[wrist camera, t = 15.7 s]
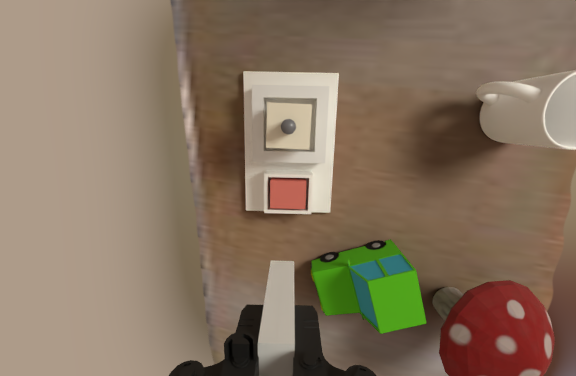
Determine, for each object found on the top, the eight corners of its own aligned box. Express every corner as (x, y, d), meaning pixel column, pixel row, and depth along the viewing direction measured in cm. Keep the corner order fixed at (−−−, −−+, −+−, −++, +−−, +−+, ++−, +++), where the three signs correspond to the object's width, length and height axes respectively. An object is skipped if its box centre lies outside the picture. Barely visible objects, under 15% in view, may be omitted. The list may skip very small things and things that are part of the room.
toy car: (306, 251, 44) (310, 288, 34) (386, 230, 42) (414, 262, 33) (322, 302, 46) (330, 351, 36) (398, 284, 45) (427, 329, 35)
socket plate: (244, 72, 37) (239, 67, 34) (337, 74, 37) (342, 69, 34) (246, 208, 42) (242, 216, 39) (329, 211, 42) (332, 218, 38)
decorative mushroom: (423, 240, 43) (490, 302, 28) (516, 261, 43) (630, 332, 29) (391, 322, 46) (436, 413, 32) (477, 340, 47) (560, 438, 32)
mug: (442, 118, 38) (496, 117, 28) (474, 60, 36) (544, 37, 26) (514, 151, 39) (590, 161, 29) (549, 96, 37) (643, 87, 27)
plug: (272, 106, 37) (265, 100, 27) (308, 107, 37) (313, 103, 27) (271, 142, 38) (264, 149, 29) (306, 144, 38) (310, 151, 29)
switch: (271, 177, 39) (270, 180, 37) (305, 178, 39) (306, 181, 37) (271, 204, 40) (270, 208, 38) (304, 204, 40) (305, 209, 38)
